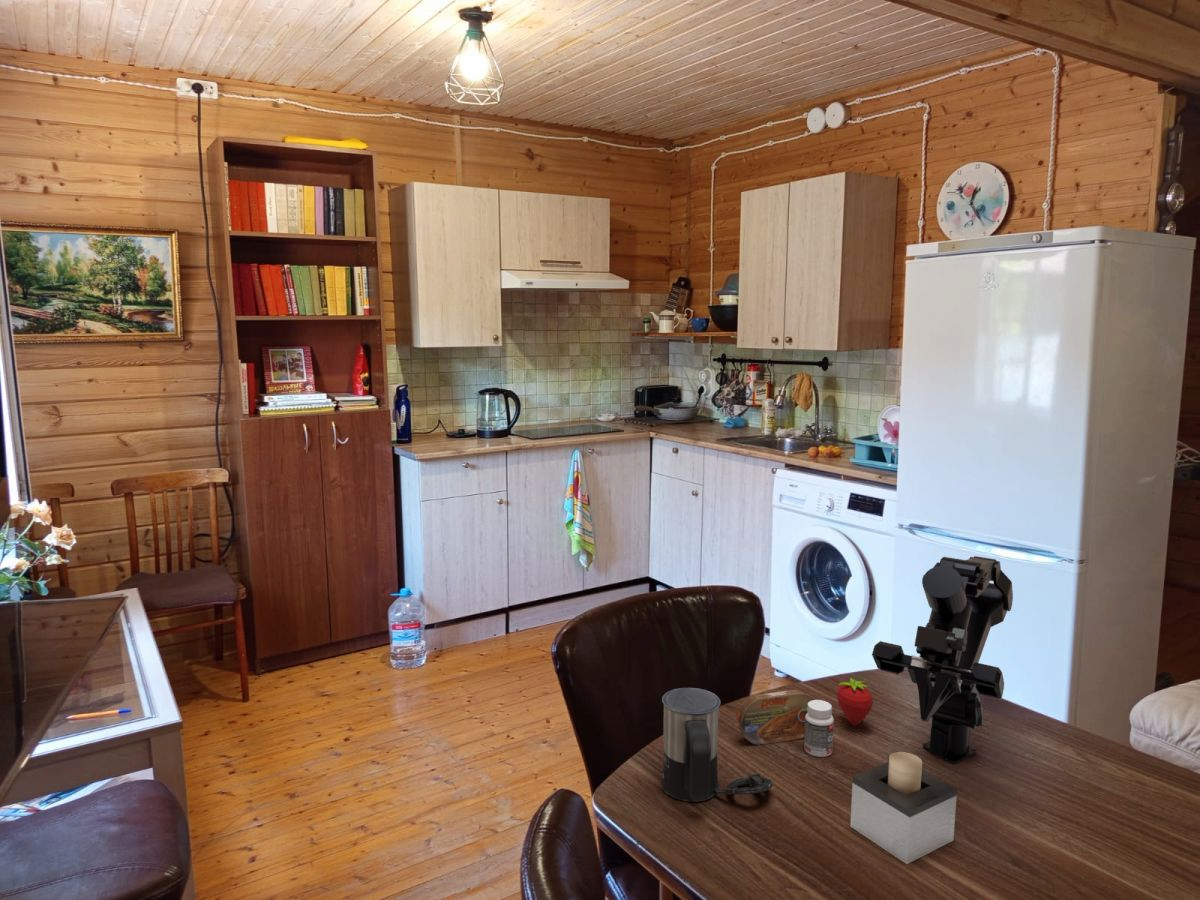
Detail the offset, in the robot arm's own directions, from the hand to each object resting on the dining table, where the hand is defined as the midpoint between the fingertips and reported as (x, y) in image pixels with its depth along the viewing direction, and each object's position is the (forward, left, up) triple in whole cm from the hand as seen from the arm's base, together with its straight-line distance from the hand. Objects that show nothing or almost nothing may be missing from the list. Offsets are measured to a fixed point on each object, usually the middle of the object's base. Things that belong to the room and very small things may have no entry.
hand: (923, 720), depth 126 cm
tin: (+5, -26, -14) cm, 30 cm away
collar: (+9, +4, -14) cm, 16 cm away
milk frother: (+24, -19, -14) cm, 34 cm away
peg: (+9, +4, -10) cm, 14 cm away
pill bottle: (+2, -19, -14) cm, 24 cm away
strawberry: (-10, -22, -14) cm, 28 cm away
